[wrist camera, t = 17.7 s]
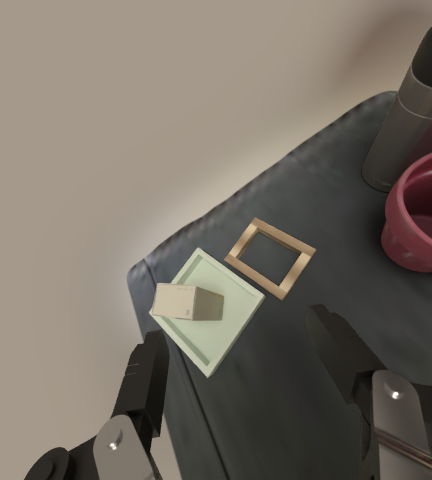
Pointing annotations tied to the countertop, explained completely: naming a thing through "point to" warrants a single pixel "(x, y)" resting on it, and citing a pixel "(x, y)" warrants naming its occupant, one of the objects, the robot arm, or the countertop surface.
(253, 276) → the wooden frame
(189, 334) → the sage tray
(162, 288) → the skincare box
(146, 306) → the countertop surface
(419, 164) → the plant pot
